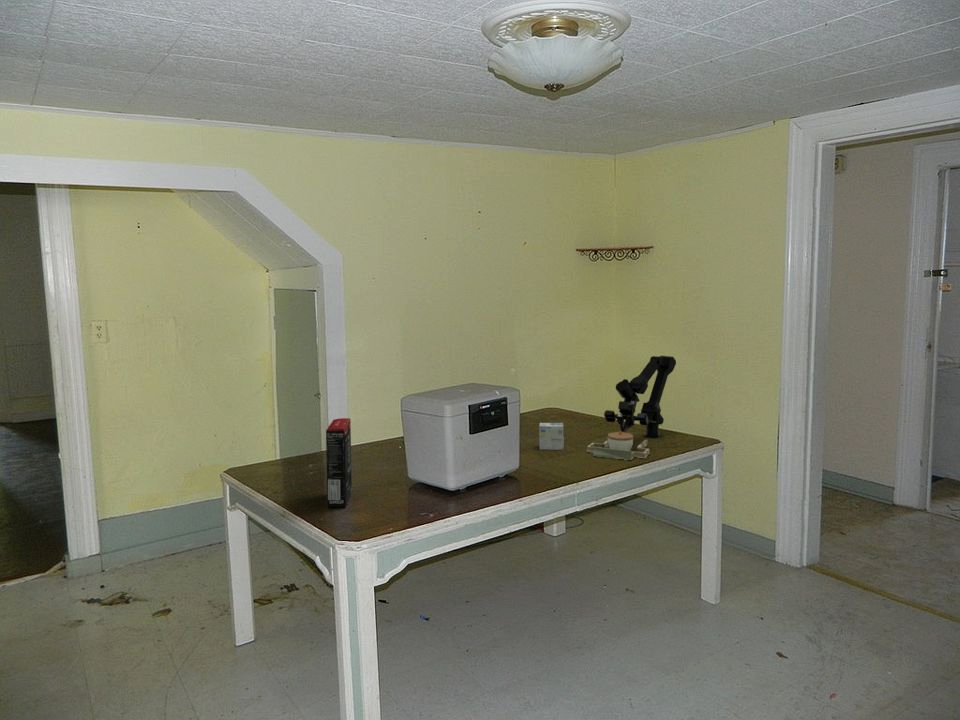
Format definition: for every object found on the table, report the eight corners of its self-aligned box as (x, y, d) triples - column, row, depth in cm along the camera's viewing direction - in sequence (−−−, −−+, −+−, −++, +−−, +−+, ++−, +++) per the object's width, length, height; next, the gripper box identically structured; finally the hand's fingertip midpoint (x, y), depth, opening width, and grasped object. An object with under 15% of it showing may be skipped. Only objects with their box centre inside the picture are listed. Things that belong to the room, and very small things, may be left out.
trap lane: (602, 440, 324) (602, 431, 323) (657, 446, 313) (657, 437, 312) (583, 455, 299) (583, 446, 299) (641, 462, 288) (642, 452, 288)
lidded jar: (630, 449, 308) (630, 428, 307) (635, 456, 297) (635, 434, 296) (605, 449, 308) (605, 428, 307) (609, 456, 298) (610, 434, 296)
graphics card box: (334, 492, 253) (331, 418, 250) (353, 492, 254) (351, 417, 250) (327, 509, 236) (323, 429, 233) (348, 508, 237) (345, 428, 233)
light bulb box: (563, 446, 315) (563, 422, 313) (563, 450, 308) (563, 425, 307) (539, 445, 316) (539, 422, 314) (539, 449, 309) (539, 425, 308)
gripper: (605, 392, 314) (597, 421, 306) (647, 395, 305) (640, 425, 297) (610, 406, 322) (602, 435, 314) (651, 410, 313) (644, 440, 305)
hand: (622, 433), depth 307 cm, fingers closed
